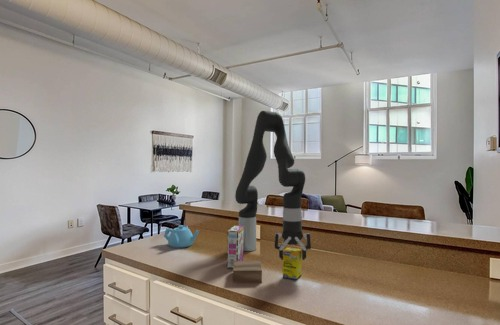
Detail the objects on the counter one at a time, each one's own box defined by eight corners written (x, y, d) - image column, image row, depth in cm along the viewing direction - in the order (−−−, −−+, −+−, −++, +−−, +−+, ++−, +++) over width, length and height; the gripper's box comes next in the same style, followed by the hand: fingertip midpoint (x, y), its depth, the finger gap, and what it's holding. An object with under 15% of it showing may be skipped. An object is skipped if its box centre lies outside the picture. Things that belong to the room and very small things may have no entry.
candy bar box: (238, 269, 125) (238, 231, 125) (226, 268, 126) (226, 230, 126) (243, 260, 136) (243, 225, 136) (233, 259, 137) (233, 225, 137)
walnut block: (234, 272, 122) (234, 260, 122) (260, 272, 123) (260, 260, 123) (233, 283, 111) (233, 270, 111) (261, 283, 112) (261, 270, 112)
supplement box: (282, 278, 116) (282, 250, 116) (287, 273, 121) (287, 246, 121) (297, 281, 113) (297, 253, 113) (301, 275, 118) (301, 248, 118)
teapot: (188, 239, 173) (188, 221, 173) (200, 245, 161) (200, 225, 161) (162, 244, 163) (162, 224, 163) (173, 250, 151) (173, 230, 151)
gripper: (308, 217, 120) (308, 256, 120) (274, 217, 121) (274, 256, 121) (311, 220, 113) (312, 262, 113) (274, 220, 113) (275, 262, 113)
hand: (292, 259), depth 117 cm, fingers open, 8 cm apart
